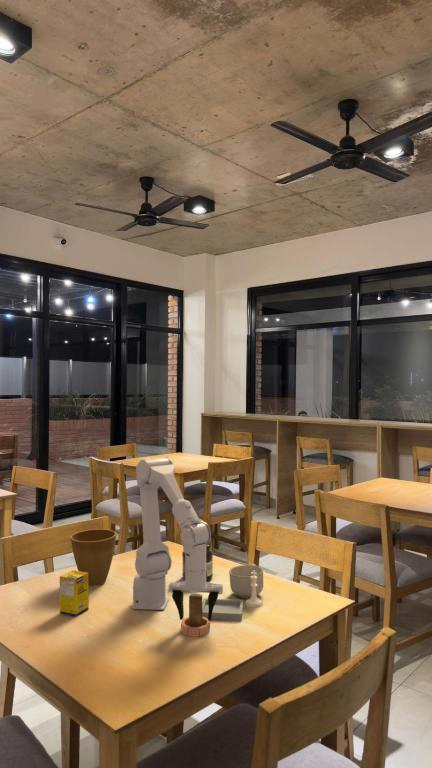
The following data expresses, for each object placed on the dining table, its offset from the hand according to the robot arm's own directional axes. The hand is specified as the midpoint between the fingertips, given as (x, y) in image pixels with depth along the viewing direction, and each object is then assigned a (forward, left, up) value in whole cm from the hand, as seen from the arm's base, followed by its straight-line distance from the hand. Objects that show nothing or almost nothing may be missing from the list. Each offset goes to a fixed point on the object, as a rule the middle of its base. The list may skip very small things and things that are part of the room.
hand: (195, 618), depth 147 cm
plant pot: (-39, +31, -3) cm, 50 cm away
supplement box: (-37, +8, -3) cm, 38 cm away
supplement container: (-5, +39, -3) cm, 39 cm away
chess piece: (+15, +19, -3) cm, 24 cm away
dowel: (0, 0, -3) cm, 3 cm away
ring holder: (0, 0, -3) cm, 3 cm away
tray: (+6, +12, -3) cm, 14 cm away
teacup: (+13, +27, -3) cm, 30 cm away
